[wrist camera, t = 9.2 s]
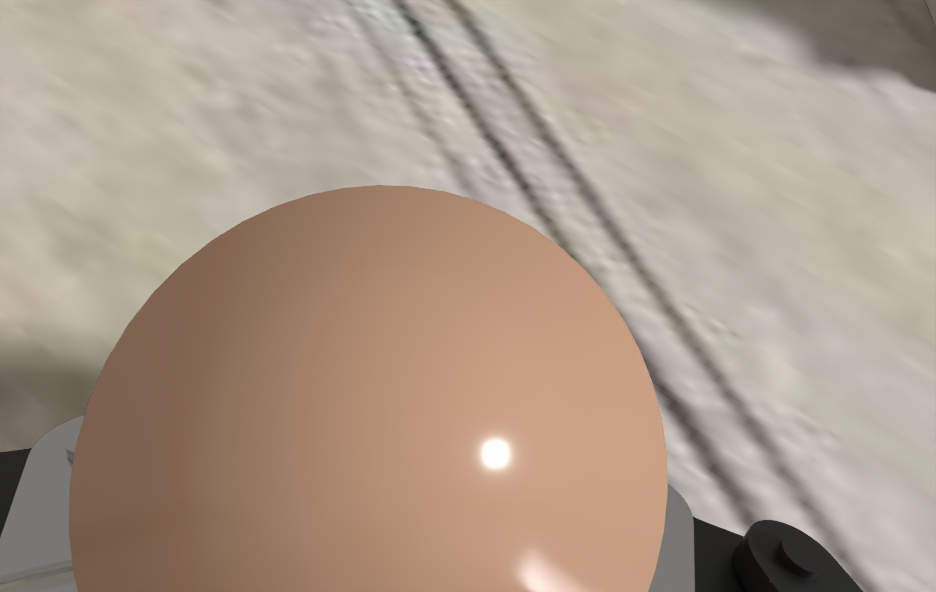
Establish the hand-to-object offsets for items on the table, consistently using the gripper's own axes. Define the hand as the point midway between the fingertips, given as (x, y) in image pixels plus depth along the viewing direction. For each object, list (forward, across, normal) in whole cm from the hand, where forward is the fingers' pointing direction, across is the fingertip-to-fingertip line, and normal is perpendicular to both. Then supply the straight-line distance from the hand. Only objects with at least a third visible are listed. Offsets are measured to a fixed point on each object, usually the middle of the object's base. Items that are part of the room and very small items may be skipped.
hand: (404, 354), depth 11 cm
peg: (+2, 0, +4) cm, 5 cm away
